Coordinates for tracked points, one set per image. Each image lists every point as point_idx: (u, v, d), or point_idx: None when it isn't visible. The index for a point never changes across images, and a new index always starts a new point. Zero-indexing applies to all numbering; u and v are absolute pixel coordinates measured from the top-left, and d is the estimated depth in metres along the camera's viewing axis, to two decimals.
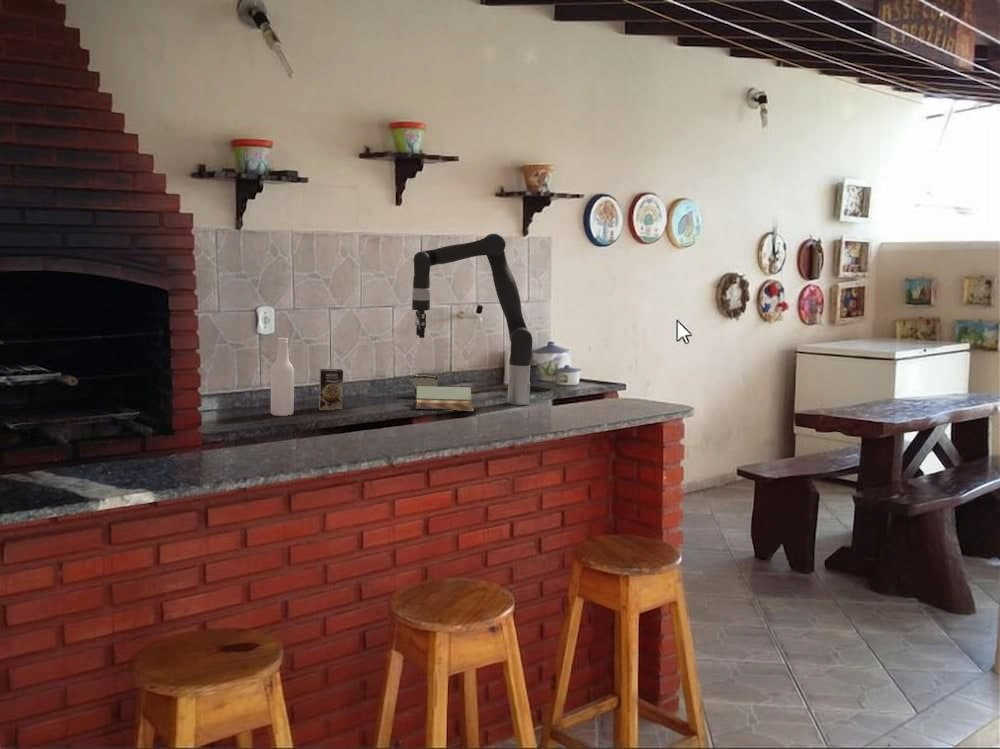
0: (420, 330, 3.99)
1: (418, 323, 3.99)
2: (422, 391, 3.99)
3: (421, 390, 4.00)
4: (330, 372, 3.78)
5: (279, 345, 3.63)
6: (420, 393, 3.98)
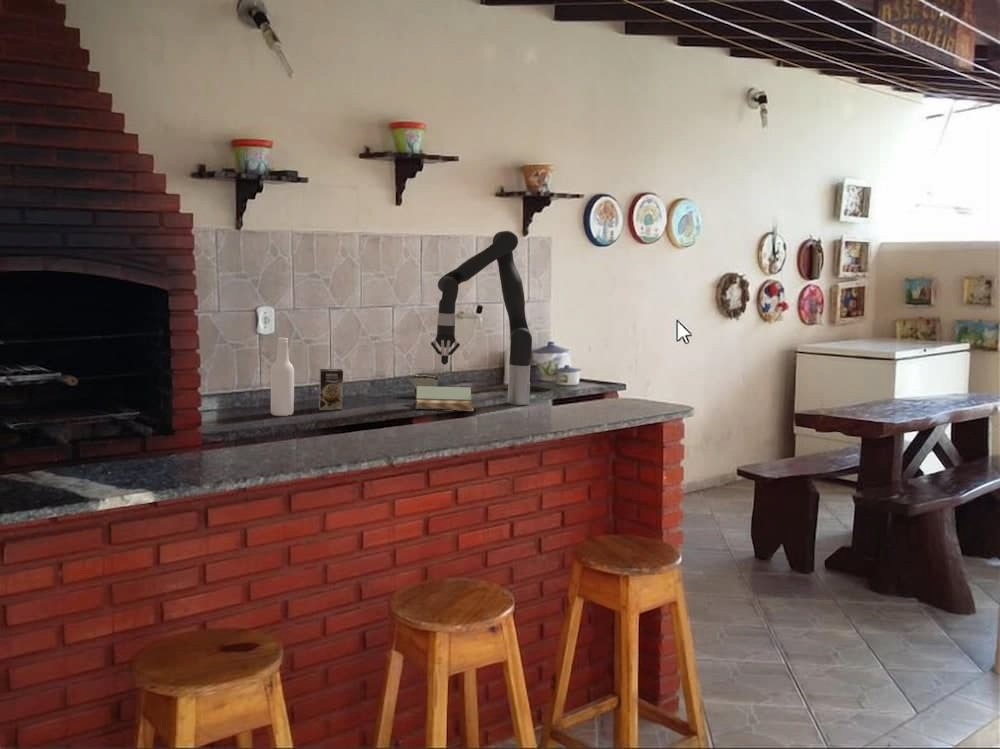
0: (447, 357, 4.00)
1: (448, 350, 3.99)
2: (422, 391, 3.99)
3: (421, 390, 4.00)
4: (330, 372, 3.78)
5: (279, 345, 3.63)
6: (420, 393, 3.98)
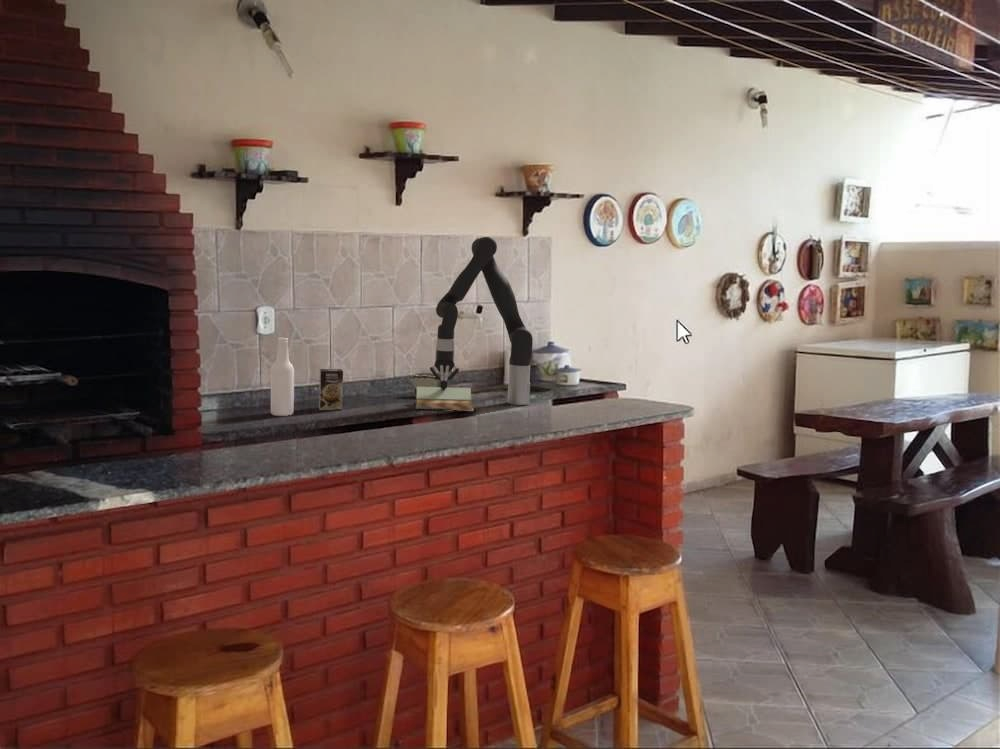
0: (446, 382, 4.00)
1: (447, 375, 3.99)
2: (422, 391, 4.00)
3: (421, 390, 4.00)
4: (330, 372, 3.78)
5: (279, 345, 3.63)
6: (420, 394, 3.98)
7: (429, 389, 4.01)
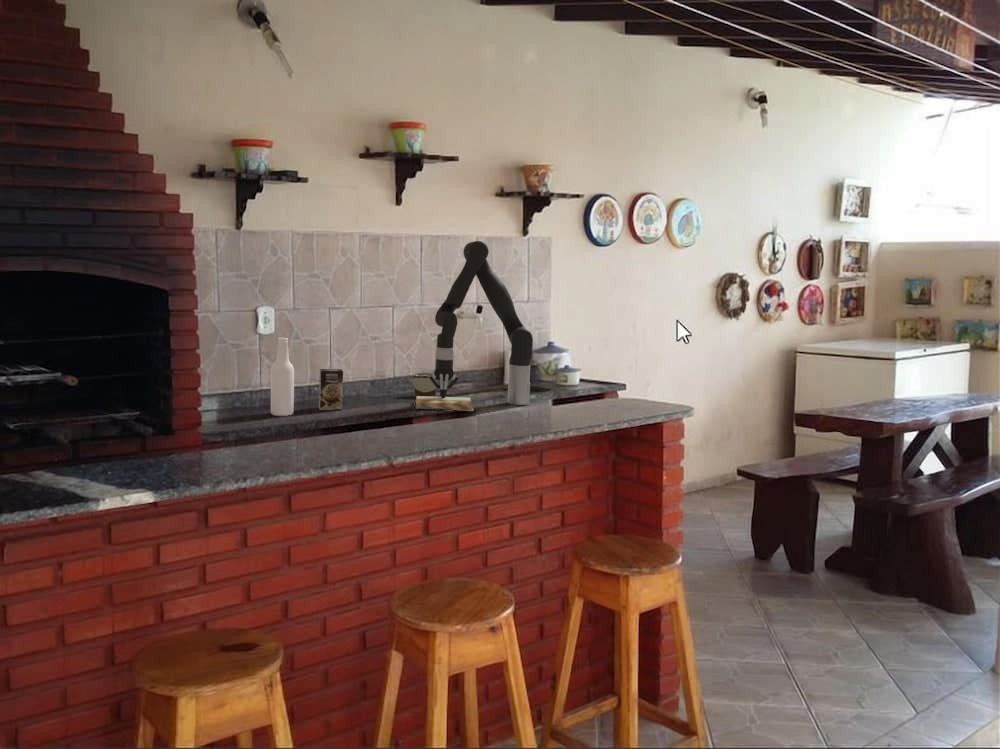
0: (445, 390, 4.02)
1: (446, 384, 4.01)
2: (421, 397, 4.01)
3: (421, 397, 4.01)
4: (330, 372, 3.78)
5: (279, 345, 3.63)
6: (419, 398, 3.99)
7: (429, 397, 4.02)
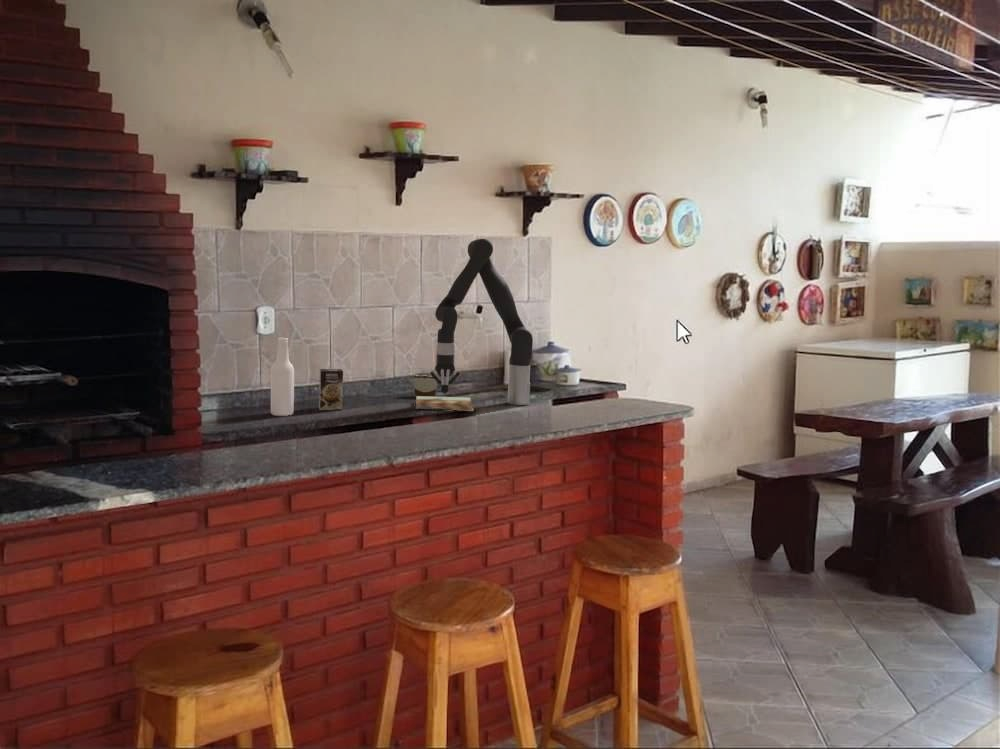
0: (447, 386, 4.00)
1: (448, 379, 3.99)
2: (421, 397, 4.01)
3: (421, 397, 4.01)
4: (330, 372, 3.78)
5: (279, 345, 3.63)
6: (419, 398, 3.99)
7: (429, 397, 4.02)
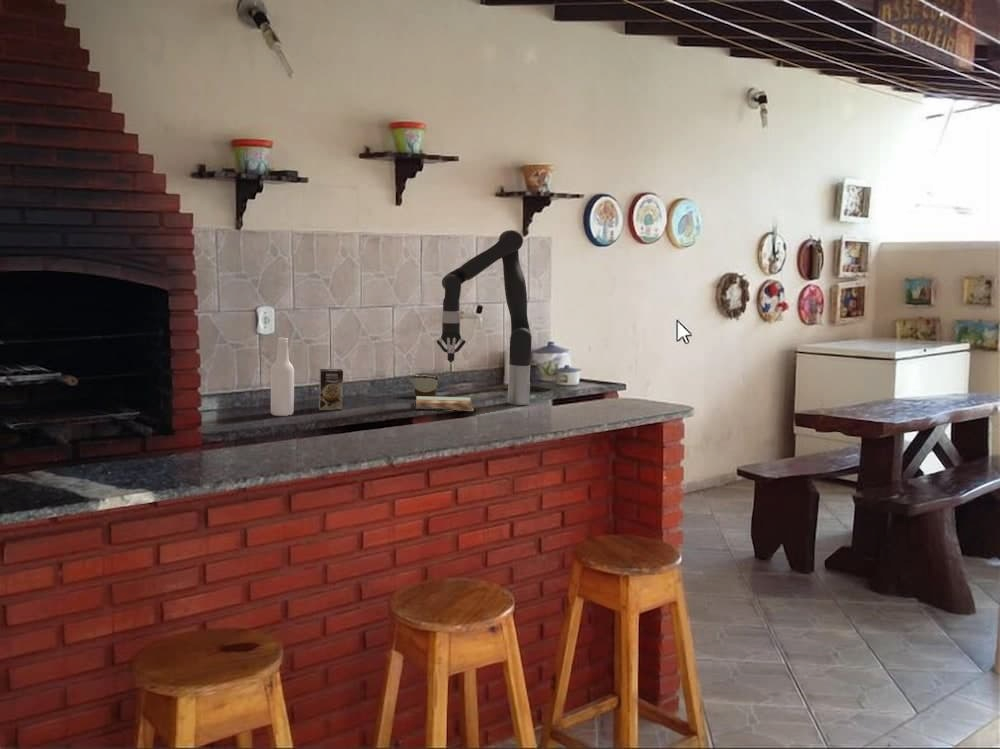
0: (453, 354, 4.03)
1: (454, 347, 4.02)
2: (421, 397, 4.01)
3: (421, 397, 4.01)
4: (330, 372, 3.78)
5: (279, 345, 3.63)
6: (419, 398, 3.99)
7: (429, 397, 4.02)
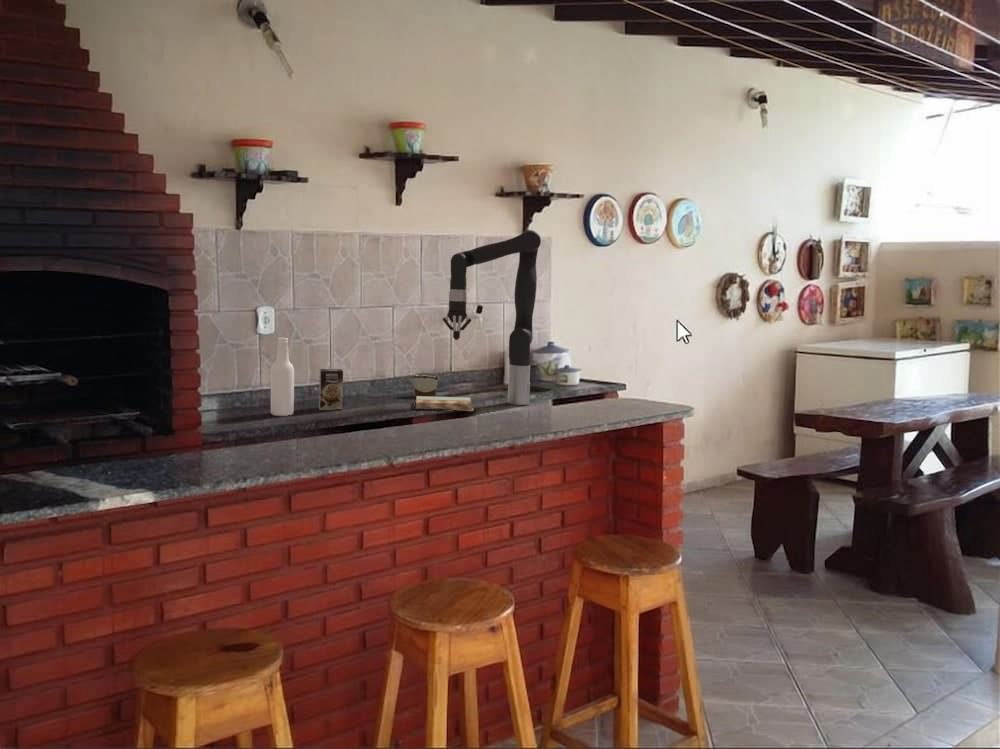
0: (459, 332, 4.07)
1: (459, 325, 4.06)
2: (421, 397, 4.01)
3: (421, 397, 4.01)
4: (330, 372, 3.78)
5: (279, 345, 3.63)
6: (419, 398, 3.99)
7: (429, 397, 4.02)
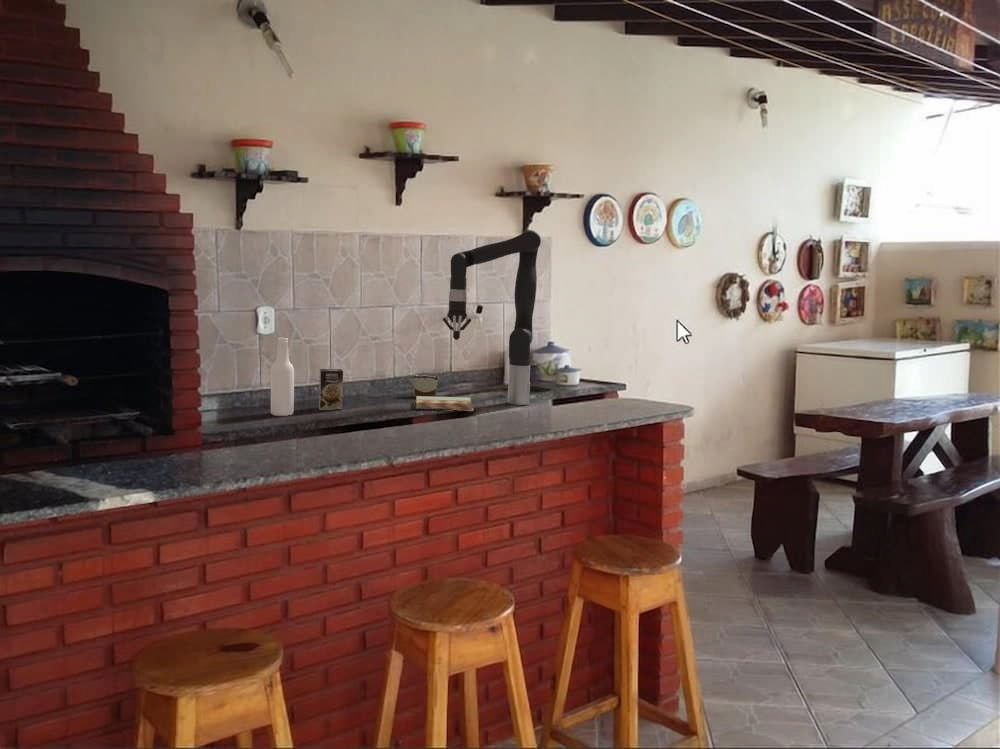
0: (459, 332, 4.07)
1: (459, 325, 4.06)
2: (421, 397, 4.01)
3: (421, 397, 4.01)
4: (330, 372, 3.78)
5: (279, 345, 3.63)
6: (419, 398, 3.99)
7: (429, 397, 4.02)
